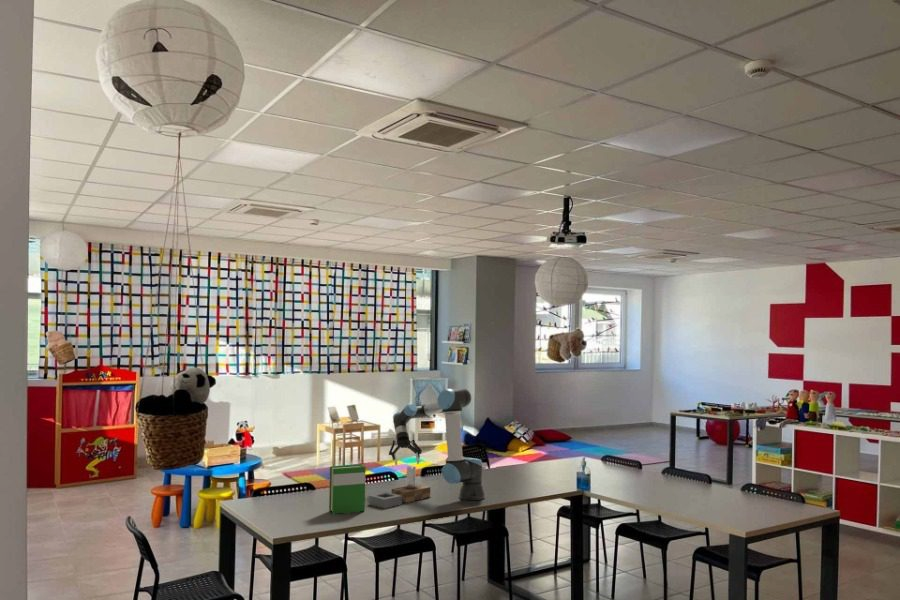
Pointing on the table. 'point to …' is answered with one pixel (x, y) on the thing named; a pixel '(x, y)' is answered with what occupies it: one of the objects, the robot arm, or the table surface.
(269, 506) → the table surface
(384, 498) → the socket
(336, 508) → the hardback book
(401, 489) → the tan hollow box
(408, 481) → the translucent white cylinder
